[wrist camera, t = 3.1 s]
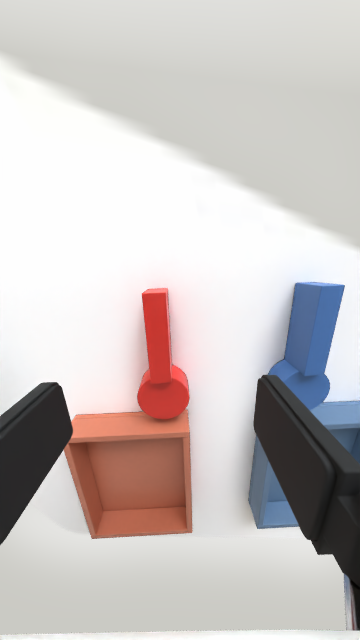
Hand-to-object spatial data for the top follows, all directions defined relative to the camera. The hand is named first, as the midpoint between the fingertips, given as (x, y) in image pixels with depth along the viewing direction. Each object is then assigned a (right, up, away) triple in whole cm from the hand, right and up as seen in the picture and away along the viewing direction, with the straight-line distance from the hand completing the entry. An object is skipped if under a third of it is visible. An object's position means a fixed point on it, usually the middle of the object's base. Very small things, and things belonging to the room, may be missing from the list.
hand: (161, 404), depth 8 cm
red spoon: (-1, +2, +7) cm, 7 cm away
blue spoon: (+11, +2, +7) cm, 14 cm away
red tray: (-4, -12, +11) cm, 17 cm away
